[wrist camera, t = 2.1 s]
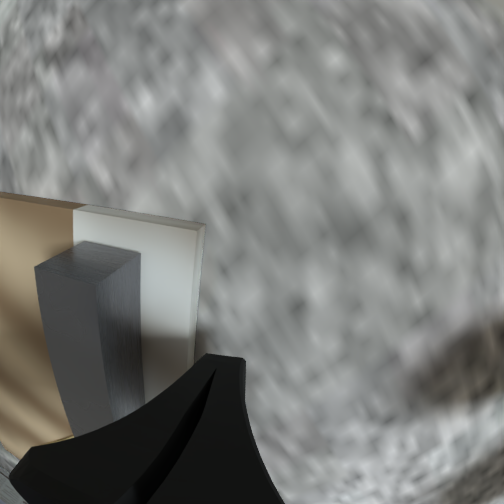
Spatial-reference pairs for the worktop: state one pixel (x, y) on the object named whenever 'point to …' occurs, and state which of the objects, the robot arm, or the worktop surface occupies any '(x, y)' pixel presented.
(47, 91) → the worktop surface
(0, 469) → the supplement box
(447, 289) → the worktop surface
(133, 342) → the swing bar
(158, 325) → the door board
